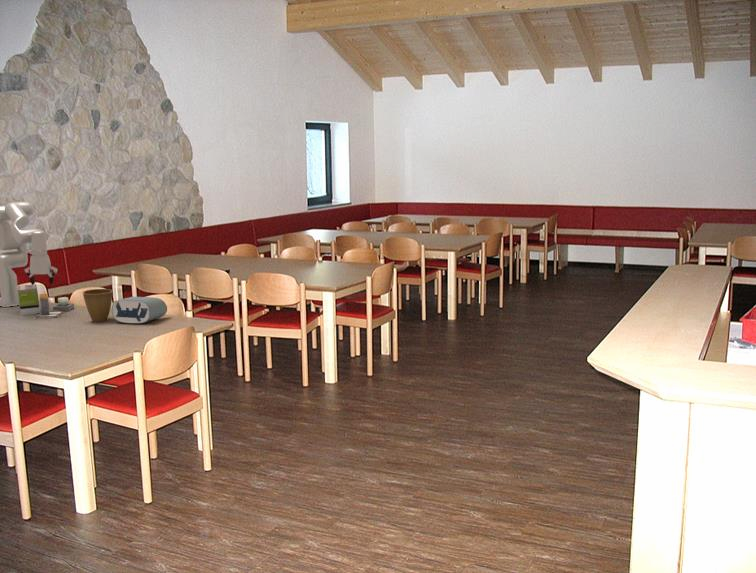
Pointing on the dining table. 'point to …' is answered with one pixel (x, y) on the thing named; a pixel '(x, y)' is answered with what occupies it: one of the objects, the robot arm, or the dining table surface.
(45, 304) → the marker
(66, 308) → the button housing
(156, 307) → the pencil case
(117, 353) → the dining table surface
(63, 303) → the button
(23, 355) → the dining table surface
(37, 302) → the tea box
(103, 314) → the plant pot
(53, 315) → the clipboard
